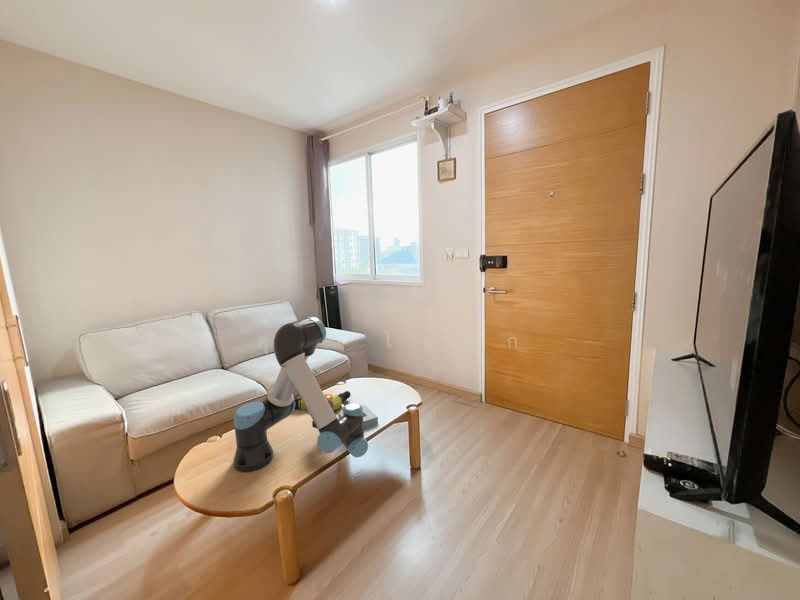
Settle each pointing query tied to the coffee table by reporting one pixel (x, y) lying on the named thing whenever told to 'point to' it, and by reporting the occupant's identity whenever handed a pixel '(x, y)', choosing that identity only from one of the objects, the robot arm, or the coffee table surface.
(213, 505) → the coffee table surface
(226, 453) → the coffee table surface
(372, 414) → the slate holder
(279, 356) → the robot arm
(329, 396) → the chuck key rod
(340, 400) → the cordless drill
